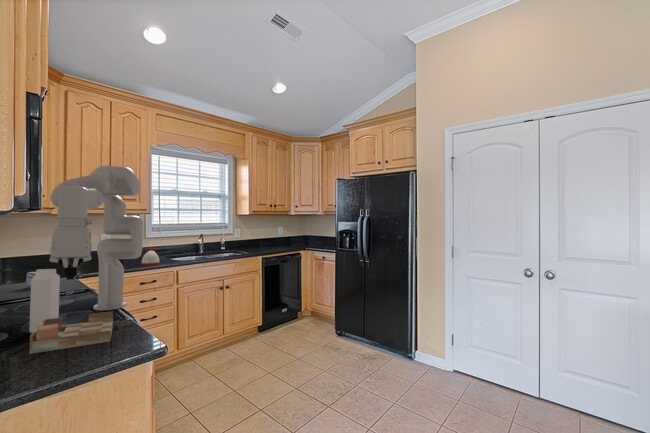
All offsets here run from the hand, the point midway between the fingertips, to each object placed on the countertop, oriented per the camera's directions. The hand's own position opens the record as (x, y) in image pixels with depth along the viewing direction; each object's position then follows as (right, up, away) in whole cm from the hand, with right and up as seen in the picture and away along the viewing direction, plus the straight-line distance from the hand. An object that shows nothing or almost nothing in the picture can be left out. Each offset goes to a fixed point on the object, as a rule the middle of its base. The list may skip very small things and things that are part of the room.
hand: (70, 278), depth 101 cm
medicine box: (-82, -20, +74) cm, 112 cm away
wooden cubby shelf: (-1, -21, +4) cm, 22 cm away
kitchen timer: (-71, -22, +171) cm, 186 cm away
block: (-4, -19, -4) cm, 19 cm away
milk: (-19, -21, +12) cm, 31 cm away
